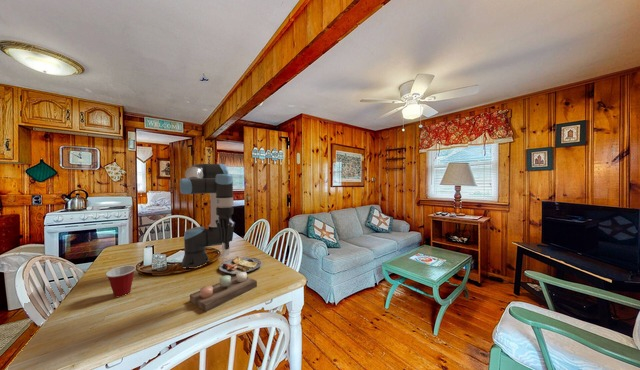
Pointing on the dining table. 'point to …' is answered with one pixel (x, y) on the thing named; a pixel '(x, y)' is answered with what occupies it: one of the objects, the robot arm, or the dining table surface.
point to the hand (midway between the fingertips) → (225, 255)
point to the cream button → (241, 277)
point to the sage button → (225, 280)
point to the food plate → (240, 264)
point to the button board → (222, 293)
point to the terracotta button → (206, 291)
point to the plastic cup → (121, 279)
